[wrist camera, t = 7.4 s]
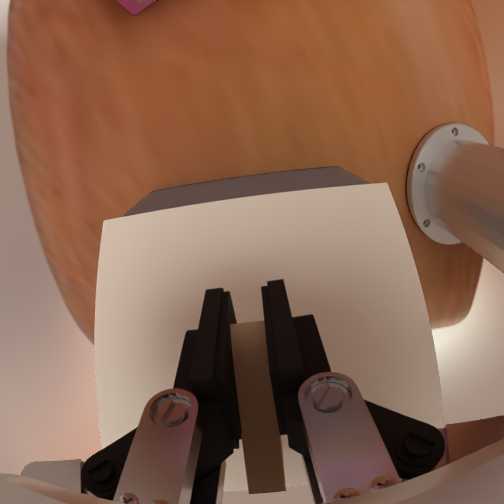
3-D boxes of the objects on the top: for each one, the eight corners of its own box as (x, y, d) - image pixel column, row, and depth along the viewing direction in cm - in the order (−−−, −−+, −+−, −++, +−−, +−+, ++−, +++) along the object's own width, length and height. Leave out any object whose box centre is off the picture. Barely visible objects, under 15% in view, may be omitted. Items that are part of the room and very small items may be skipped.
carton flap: (108, 225, 17) (57, 169, 11) (384, 188, 16) (414, 118, 11) (112, 477, 11) (45, 505, 6) (439, 443, 10) (508, 460, 5)
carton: (152, 191, 25) (111, 225, 17) (337, 166, 24) (380, 189, 16) (186, 322, 31) (171, 387, 22) (339, 303, 30) (367, 364, 22)
